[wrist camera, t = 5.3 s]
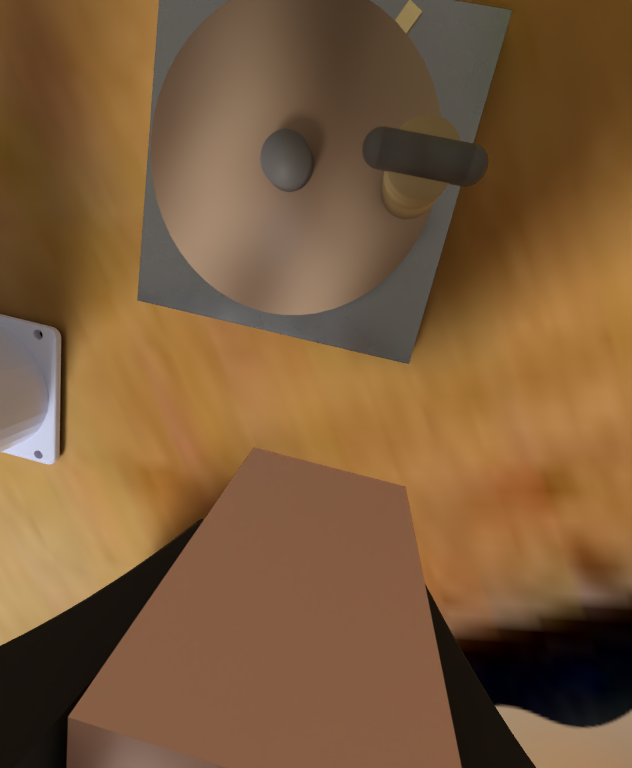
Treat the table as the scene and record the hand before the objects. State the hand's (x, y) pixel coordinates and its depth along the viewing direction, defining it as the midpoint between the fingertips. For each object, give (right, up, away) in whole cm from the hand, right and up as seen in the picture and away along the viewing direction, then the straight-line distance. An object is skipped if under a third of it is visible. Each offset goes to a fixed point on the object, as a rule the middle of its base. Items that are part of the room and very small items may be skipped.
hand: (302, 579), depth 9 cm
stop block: (0, 0, +2) cm, 2 cm away
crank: (0, +13, +5) cm, 14 cm away
